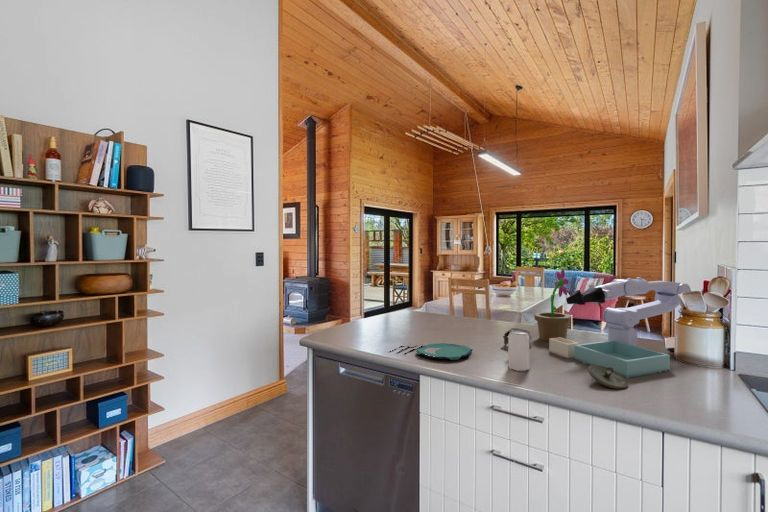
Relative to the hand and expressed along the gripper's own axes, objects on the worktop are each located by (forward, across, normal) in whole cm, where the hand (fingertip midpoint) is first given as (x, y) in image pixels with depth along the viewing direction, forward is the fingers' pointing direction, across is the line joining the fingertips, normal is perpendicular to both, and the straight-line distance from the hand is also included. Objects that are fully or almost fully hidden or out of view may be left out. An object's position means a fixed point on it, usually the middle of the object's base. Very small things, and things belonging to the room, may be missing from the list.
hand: (574, 300), depth 137 cm
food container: (+23, -6, +16) cm, 29 cm away
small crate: (+5, -8, +18) cm, 20 cm away
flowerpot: (-6, -27, +16) cm, 32 cm away
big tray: (-3, +8, +23) cm, 25 cm away
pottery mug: (+13, -22, +14) cm, 30 cm away
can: (+30, +1, +16) cm, 34 cm away
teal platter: (+48, -25, +8) cm, 55 cm away
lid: (+14, +20, +23) cm, 33 cm away
